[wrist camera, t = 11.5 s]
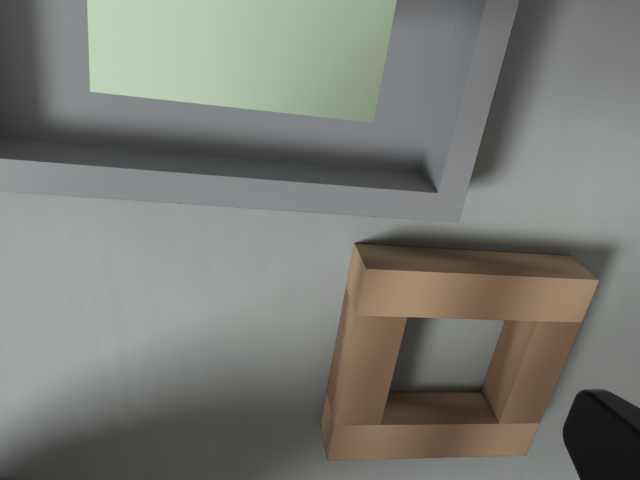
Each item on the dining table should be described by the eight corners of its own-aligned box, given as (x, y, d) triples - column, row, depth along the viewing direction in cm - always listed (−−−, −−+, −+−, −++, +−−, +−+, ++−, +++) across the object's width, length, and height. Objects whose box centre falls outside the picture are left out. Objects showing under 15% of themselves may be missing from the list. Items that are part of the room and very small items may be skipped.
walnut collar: (320, 425, 25) (327, 460, 24) (354, 243, 21) (366, 268, 20) (506, 423, 27) (526, 455, 26) (570, 256, 23) (599, 280, 21)
